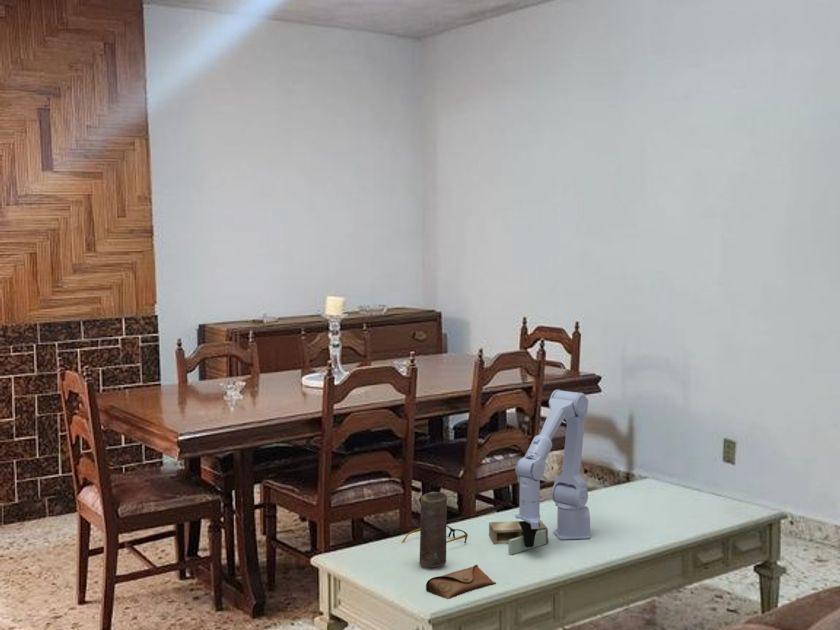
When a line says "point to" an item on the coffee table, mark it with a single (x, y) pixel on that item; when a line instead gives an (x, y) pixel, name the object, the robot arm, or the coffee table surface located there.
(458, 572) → the sunglasses case
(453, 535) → the eyeglasses
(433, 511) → the candle
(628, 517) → the coffee table surface
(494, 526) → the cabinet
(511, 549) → the sage green panel
